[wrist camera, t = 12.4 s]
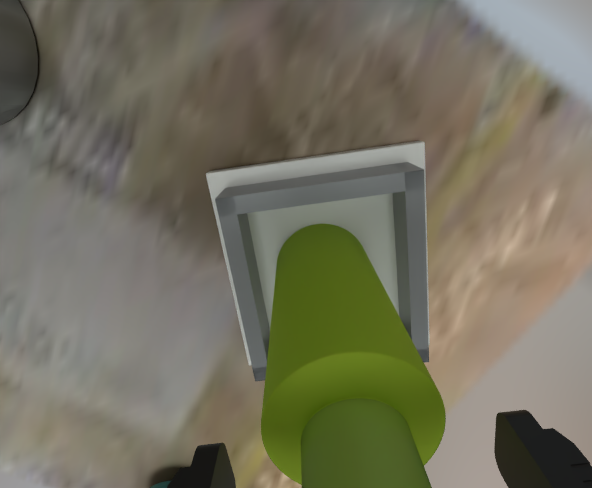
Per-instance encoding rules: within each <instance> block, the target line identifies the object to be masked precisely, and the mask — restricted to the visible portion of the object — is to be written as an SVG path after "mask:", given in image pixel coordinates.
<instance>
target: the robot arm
mask: <svg viewBox="0 0 592 488" xmlns="http://www.w3.org/2000/svg"><path fill="white" fill-rule="evenodd" d="M37 73H38V54H37V48H36V42H35V37H34V34H33V31H32V28H31V25H30V23H29V20H28V17H27V15H26V14H25V12H24V10H23V8H22V6H21V4H20V3H19V1H18V0H0V125H1V124H4V123H5V122H7V121H9V120H10V119H12V118H14V117H15V116H16V115H17V114H18V113H19V112H20V111H21V110H22V109H23V108H24V107H25V106H26V104H27V103H28V101H29V99H30V97H31V95H32V93H33V91H34V87H35V83H36V79H37ZM495 458H496V462H497V465H498V468H499V471H500V473H501V475H502V477H503V479H504V481H505V482H506V484H507V486H508V487H509V488H592V467H591V465H590V462H589V461H588V460H587V459H586V457H585V456H584V455H583V454H582V453H581V452H580V450H579V449H578V448H577V447H576V445H575V444H574V443H572V442H571V441H570V440H568V439H567V438H566V437H564V436H563V435H562V434H560V433H559V432H557V431H556V430H555V429H553V428H551V429H542V428H541V426H540V425H539V424H538V422H537V421H536V420H535V418H534V417H533V416H532V415H531V414H530V413H529V412H528V411H526V410H519V411H511V412H502V413H498V414H497V417H496V432H495ZM167 488H236V485H235V478H234V474H233V471H232V467H231V464H230V460H229V457H228V453H227V450H226V447H225V444H224V443H217V444H208V445H199V446H198V447H197V448H196V451H195V454H194V457H193V461H192V464H191V467H185V468H180V469H179V470H178V472H177V473H176V474H175V476H174V477H173V479H172V480H171V482H170V483H169V484H168V486H167Z"/></svg>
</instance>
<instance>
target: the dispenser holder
mask: <svg viewBox="0 0 592 488" xmlns="http://www.w3.org/2000/svg"><path fill="white" fill-rule="evenodd" d="M206 177H207V182H208V186H209V191H210V195H211V199H212V204H213V208H214V213H215V217H216V222H217V226H218V230H219V235H220V239H221V244H222V248H223V253H224V257H225V261H226V266H227V270H228V275H229V279H230V284H231V288H232V292H233V297H234V301H235V306H236V310H237V315H238V319H239V323H240V328H241V332H242V337H243V341H244V346H245V350H246V354H247V359H248V363H249V365H252V368H253V373H254V377H255V381H262V380H265V378H266V368H267V357H268V347H269V337H270V327H271V317H272V306H273V296H274V286H275V276H276V266H277V258H278V255H279V252H280V250H281V248H282V246H283V244H284V243H285V242H286V240H287V239H288V238H289V237H290V236H291V235H293V234H294V233H295V232H297V231H298V230H300V229H302V228H304V227H307V226H310V225H315V224H331V225H336V226H339V227H341V228H344V229H346V230H347V231H349V232H350V233H352V234H353V235H354V236H355V237H356V238H357V239H358V240H359V242H360V243H361V245H362V246H363V248H364V250H365V252H366V254H367V256H368V258H369V260H370V262H371V264H372V265H373V267H374V269H375V271H376V273H377V275H378V277H379V279H380V281H381V283H382V284H383V286H384V288H385V290H386V292H387V294H388V296H389V298H390V300H391V302H392V304H393V305H394V307H395V309H396V311H397V313H398V315H399V317H400V319H401V321H402V323H403V324H404V326H405V328H406V330H407V332H408V334H409V336H410V338H411V340H412V342H413V344H414V345H415V347H416V349H417V351H418V353H419V355H420V357H421V359H422V361H423V362H429V303H428V261H427V220H426V178H425V142H423V141H414V142H407V143H400V144H393V145H386V146H379V147H372V148H366V149H359V150H352V151H345V152H338V153H331V154H324V155H317V156H311V157H304V158H297V159H290V160H283V161H276V162H269V163H262V164H256V165H249V166H242V167H235V168H228V169H221V170H214V171H209V172H208V173H206Z"/></svg>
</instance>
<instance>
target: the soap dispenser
mask: <svg viewBox="0 0 592 488" xmlns="http://www.w3.org/2000/svg"><path fill="white" fill-rule="evenodd" d="M445 419H446V418H445V408H444V404H443V400H442V398H441V395H440V393H439V391H438V389H437V387H436V385H435V384H434V382H433V380H432V378H431V376H430V374H429V372H428V370H427V368H426V366H425V364H424V363H423V361H422V359H421V357H420V355H419V353H418V351H417V349H416V347H415V345H414V344H413V342H412V340H411V338H410V336H409V334H408V332H407V330H406V328H405V326H404V324H403V323H402V321H401V319H400V317H399V315H398V313H397V311H396V309H395V307H394V305H393V304H392V302H391V300H390V298H389V296H388V294H387V292H386V290H385V288H384V286H383V284H382V283H381V281H380V279H379V277H378V275H377V273H376V271H375V269H374V267H373V265H372V264H371V262H370V260H369V258H368V256H367V254H366V252H365V250H364V248H363V246H362V245H361V243H360V242H359V240H358V239H357V238H356V237H355V236H354V235H353V234H352V233H350V232H349V231H347V230H346V229H344V228H341V227H339V226H336V225H331V224H315V225H310V226H307V227H304V228H302V229H300V230H298V231H297V232H295V233H294V234H293V235H291V236H290V237H289V238H288V239H287V240H286V242H285V243H284V244H283V246H282V248H281V250H280V252H279V255H278V258H277V266H276V276H275V286H274V296H273V306H272V317H271V327H270V337H269V347H268V357H267V368H266V378H265V388H264V398H263V408H262V419H261V434H262V440H263V444H264V447H265V449H266V451H267V453H268V455H269V457H270V459H271V460H272V461H273V463H274V464H275V465H276V466H277V467H278V468H279V470H281V471H282V472H283V473H284V474H285V475H286V476H288V477H289V478H291V479H292V480H294V481H295V482H297V483H299V484H301V485H302V488H432V487H431V484H430V482H429V479H428V476H427V474H426V471H425V468H424V465H425V464H426V463H427V462H428V461H429V459H430V458H431V457H432V456H433V454H434V453H435V451H436V450H437V448H438V446H439V444H440V442H441V440H442V437H443V433H444V429H445Z"/></svg>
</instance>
